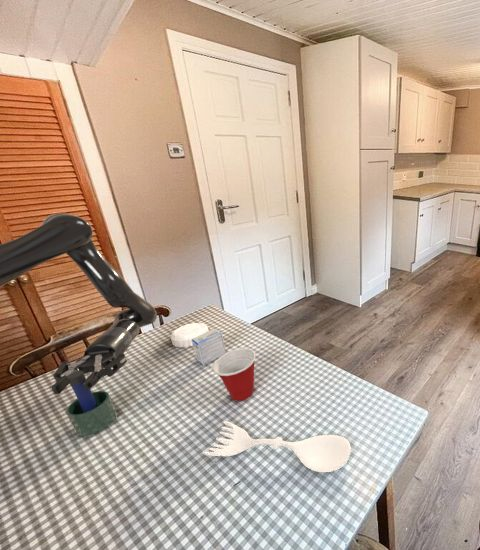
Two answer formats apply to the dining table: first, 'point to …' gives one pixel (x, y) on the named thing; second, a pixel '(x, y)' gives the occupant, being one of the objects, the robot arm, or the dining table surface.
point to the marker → (82, 391)
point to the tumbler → (92, 415)
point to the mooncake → (187, 334)
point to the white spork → (312, 452)
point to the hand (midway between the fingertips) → (71, 388)
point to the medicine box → (208, 346)
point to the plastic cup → (237, 372)
